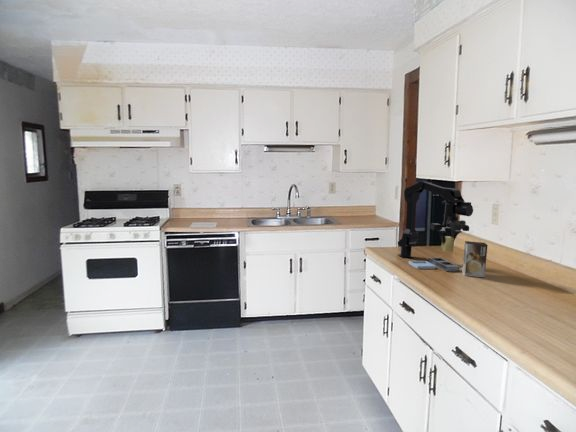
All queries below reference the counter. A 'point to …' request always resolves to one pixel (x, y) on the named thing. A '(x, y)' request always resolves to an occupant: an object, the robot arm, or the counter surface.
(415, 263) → the tray
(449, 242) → the brushed brass block
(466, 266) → the coffee box
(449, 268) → the plate with rectangular hole
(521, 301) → the counter surface
